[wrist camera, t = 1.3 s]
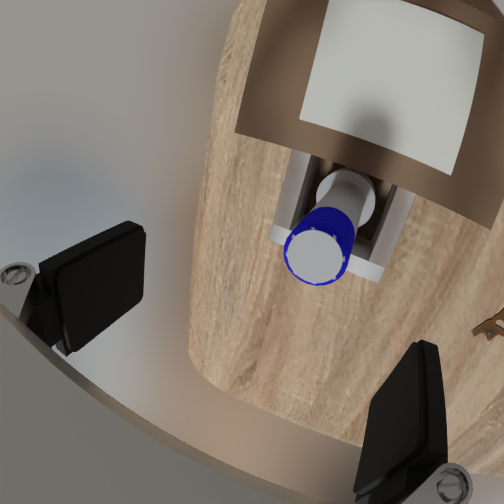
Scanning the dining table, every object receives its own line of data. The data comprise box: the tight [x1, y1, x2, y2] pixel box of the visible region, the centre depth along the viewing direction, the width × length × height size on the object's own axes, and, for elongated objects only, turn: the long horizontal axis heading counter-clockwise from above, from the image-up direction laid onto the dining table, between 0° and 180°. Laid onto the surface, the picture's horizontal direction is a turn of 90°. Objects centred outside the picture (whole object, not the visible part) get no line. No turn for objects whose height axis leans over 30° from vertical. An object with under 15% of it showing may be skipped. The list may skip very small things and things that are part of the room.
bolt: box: [284, 167, 376, 286], centre depth 21 cm, size 16×5×5 cm
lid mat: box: [299, 0, 484, 176], centre depth 14 cm, size 10×10×1 cm
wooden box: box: [235, 0, 504, 283], centre depth 20 cm, size 18×22×9 cm
